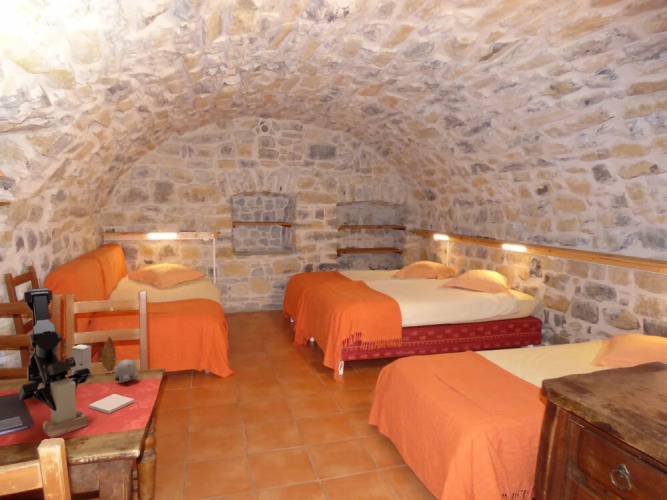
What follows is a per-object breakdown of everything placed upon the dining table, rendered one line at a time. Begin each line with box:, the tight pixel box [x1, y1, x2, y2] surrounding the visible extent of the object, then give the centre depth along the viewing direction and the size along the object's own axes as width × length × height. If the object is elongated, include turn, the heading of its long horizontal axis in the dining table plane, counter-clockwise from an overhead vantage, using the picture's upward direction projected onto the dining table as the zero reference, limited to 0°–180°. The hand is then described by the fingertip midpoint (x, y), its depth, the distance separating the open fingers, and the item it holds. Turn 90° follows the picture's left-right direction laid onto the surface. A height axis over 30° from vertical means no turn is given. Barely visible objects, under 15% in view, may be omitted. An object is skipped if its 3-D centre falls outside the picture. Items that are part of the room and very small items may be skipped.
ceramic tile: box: [88, 393, 135, 415], centre depth 144 cm, size 10×10×1 cm
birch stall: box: [42, 410, 88, 439], centre depth 128 cm, size 6×10×3 cm, turn 145°
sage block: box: [50, 378, 77, 426], centre depth 128 cm, size 5×5×14 cm
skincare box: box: [71, 344, 92, 375], centre depth 169 cm, size 6×4×12 cm
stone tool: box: [101, 336, 117, 372], centre depth 174 cm, size 5×2×15 cm, turn 126°
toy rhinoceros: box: [113, 359, 140, 384], centre depth 166 cm, size 7×12×8 cm, turn 54°
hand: (65, 407), depth 128 cm, fingers closed on sage block, 5 cm apart
